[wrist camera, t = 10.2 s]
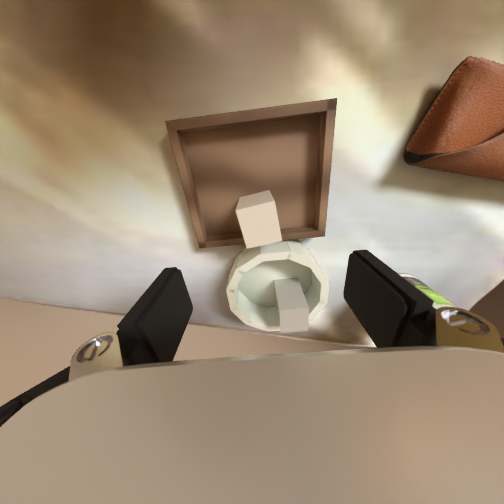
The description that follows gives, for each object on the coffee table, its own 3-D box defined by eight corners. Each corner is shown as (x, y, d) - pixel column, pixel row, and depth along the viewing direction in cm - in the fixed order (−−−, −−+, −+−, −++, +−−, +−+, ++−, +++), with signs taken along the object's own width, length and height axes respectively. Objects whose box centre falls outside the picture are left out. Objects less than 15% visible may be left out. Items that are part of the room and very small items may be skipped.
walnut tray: (174, 124, 19) (165, 121, 17) (327, 104, 18) (337, 98, 16) (203, 241, 25) (199, 248, 23) (318, 229, 24) (324, 236, 22)
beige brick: (239, 197, 22) (235, 210, 16) (269, 189, 21) (274, 200, 16) (248, 228, 23) (246, 248, 18) (275, 221, 23) (282, 240, 18)
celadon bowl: (224, 241, 25) (218, 257, 21) (320, 232, 24) (333, 247, 20) (237, 310, 31) (235, 333, 27) (314, 304, 30) (324, 327, 26)
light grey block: (273, 279, 27) (279, 310, 21) (297, 277, 26) (309, 307, 21) (275, 300, 29) (280, 332, 23) (297, 298, 28) (307, 330, 23)
